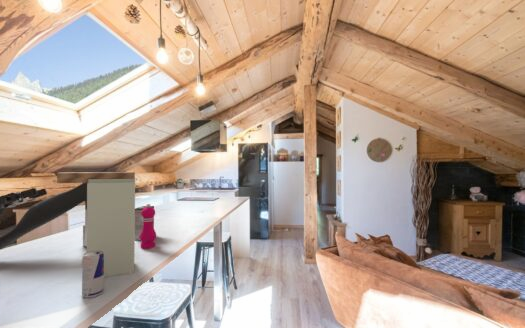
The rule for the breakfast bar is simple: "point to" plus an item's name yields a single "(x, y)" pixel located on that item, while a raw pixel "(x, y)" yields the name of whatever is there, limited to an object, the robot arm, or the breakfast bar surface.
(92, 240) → the post
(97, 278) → the energy drink
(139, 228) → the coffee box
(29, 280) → the breakfast bar surface
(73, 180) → the bar
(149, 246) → the pepper mill
